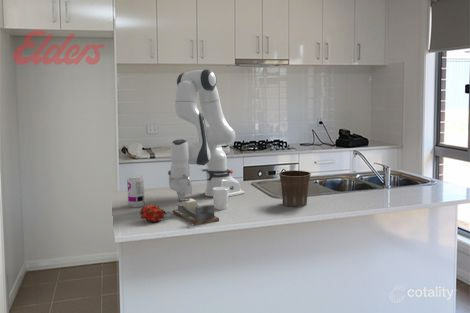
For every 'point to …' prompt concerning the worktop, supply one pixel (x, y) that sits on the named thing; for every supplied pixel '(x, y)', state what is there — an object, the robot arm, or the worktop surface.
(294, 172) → the plant pot
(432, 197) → the worktop surface
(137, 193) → the supplement can
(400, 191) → the worktop surface
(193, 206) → the cream block with rod
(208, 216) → the base
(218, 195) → the white cup
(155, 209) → the dragon fruit
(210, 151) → the robot arm
